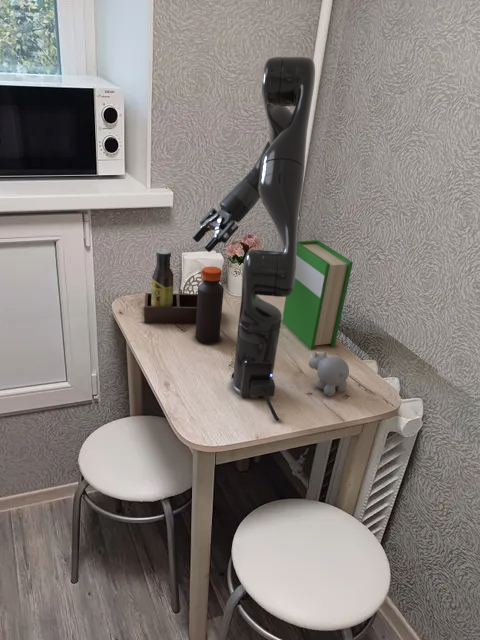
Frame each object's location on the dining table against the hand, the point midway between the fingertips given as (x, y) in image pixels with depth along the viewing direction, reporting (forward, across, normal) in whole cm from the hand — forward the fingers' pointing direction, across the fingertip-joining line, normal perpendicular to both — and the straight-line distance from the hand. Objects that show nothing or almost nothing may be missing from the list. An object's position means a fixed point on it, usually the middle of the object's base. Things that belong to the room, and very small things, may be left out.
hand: (200, 244), depth 148 cm
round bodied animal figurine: (+5, +47, +24) cm, 53 cm away
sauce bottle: (+23, 0, +7) cm, 24 cm away
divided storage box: (+19, +2, +10) cm, 22 cm away
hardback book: (-3, +23, +32) cm, 40 cm away
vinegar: (+18, +18, +12) cm, 27 cm away
